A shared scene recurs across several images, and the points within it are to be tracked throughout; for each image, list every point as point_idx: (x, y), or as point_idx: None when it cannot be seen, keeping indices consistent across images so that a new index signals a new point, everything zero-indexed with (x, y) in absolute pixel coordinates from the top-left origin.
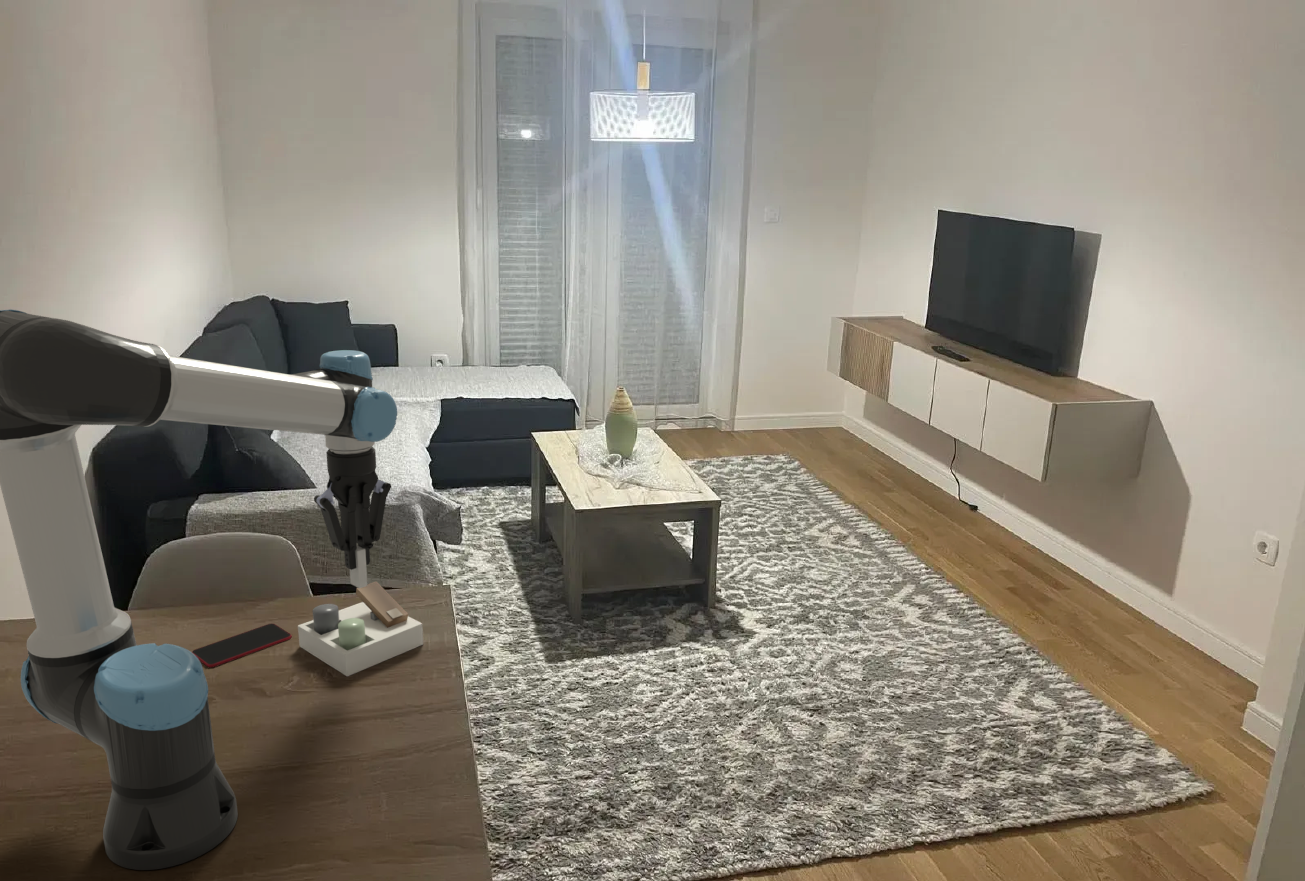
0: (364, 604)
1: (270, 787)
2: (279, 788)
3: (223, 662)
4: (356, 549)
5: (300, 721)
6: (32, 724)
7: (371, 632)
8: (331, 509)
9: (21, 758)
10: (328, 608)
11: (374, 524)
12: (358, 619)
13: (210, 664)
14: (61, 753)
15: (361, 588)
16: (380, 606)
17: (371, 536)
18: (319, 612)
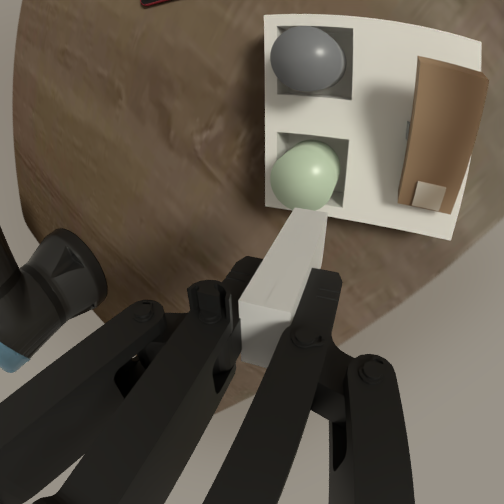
0: (446, 47)
1: (129, 288)
2: (134, 295)
3: (160, 2)
4: (251, 347)
5: (177, 231)
6: (22, 42)
7: (360, 176)
8: (11, 490)
9: (15, 95)
10: (313, 60)
11: (331, 484)
12: (327, 179)
13: (142, 3)
14: (28, 107)
15: (432, 72)
16: (422, 158)
17: (328, 414)
18: (282, 63)
